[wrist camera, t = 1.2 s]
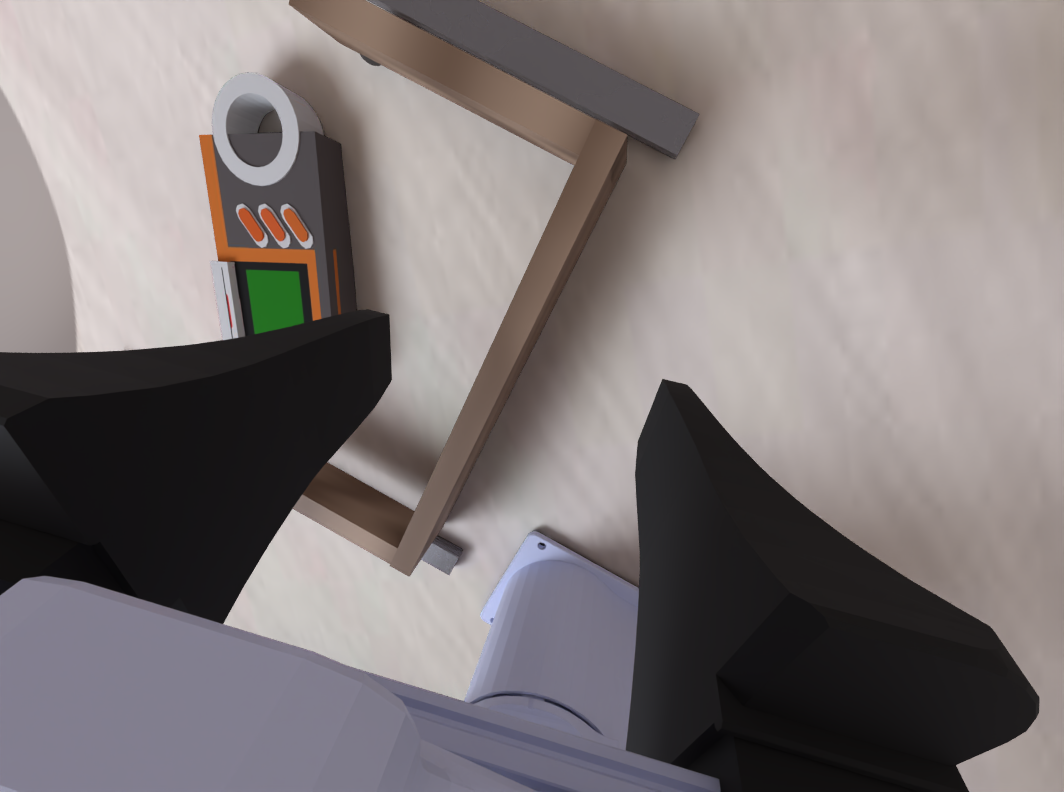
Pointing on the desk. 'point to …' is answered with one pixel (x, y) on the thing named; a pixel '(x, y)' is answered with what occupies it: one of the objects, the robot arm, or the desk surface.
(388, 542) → the dolly
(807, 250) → the desk surface
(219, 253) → the electronic device
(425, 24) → the track
